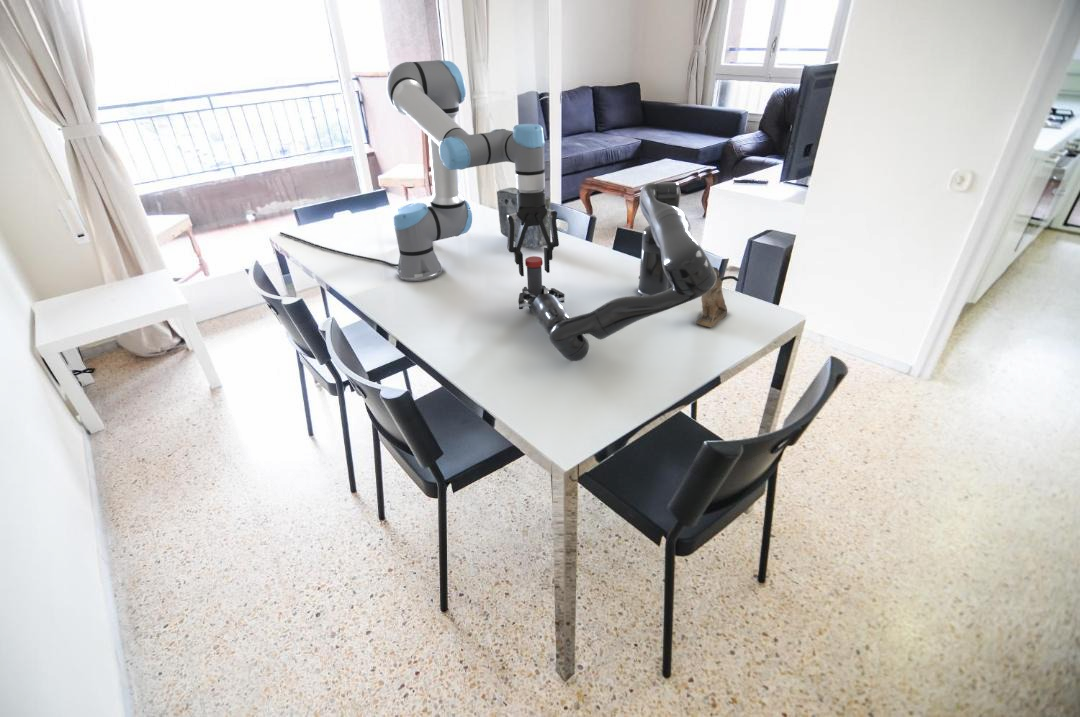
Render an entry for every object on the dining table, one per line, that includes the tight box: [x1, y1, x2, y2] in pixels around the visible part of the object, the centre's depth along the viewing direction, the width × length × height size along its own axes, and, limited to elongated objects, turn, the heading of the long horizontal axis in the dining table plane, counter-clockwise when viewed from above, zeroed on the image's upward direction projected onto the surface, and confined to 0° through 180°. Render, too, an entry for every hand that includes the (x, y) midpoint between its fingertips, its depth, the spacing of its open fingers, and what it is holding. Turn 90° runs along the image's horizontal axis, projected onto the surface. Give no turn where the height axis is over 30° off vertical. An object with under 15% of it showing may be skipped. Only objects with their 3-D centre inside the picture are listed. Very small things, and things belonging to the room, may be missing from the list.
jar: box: [526, 266, 543, 315], centre depth 144 cm, size 4×4×16 cm
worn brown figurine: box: [695, 266, 728, 328], centre depth 135 cm, size 12×6×18 cm, turn 136°
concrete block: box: [496, 187, 552, 249], centre depth 194 cm, size 27×9×20 cm, turn 36°
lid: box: [524, 255, 544, 268], centre depth 140 cm, size 5×5×2 cm
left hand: (534, 272), depth 141 cm, fingers open, 7 cm apart
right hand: (532, 288), depth 147 cm, fingers closed on jar, 4 cm apart
